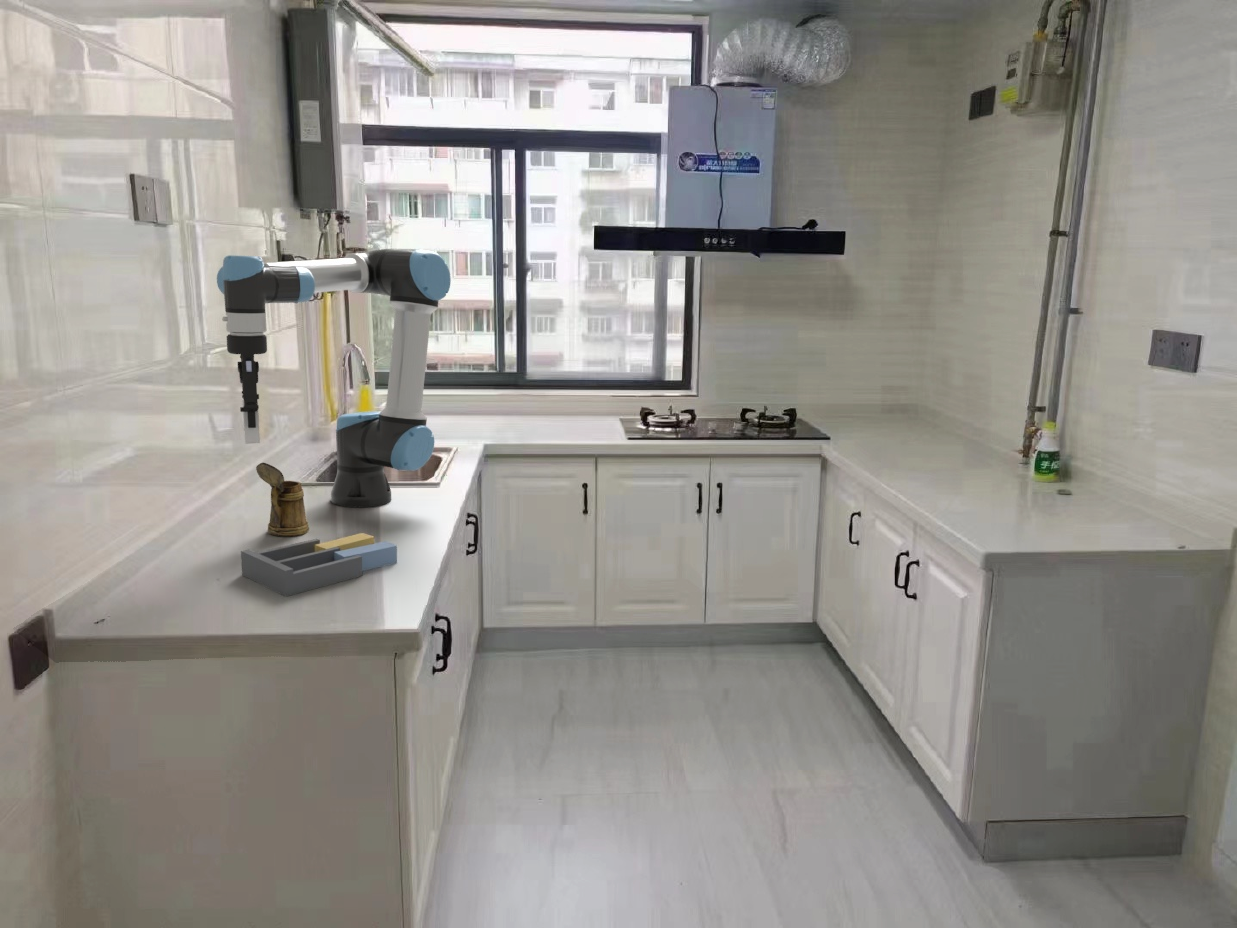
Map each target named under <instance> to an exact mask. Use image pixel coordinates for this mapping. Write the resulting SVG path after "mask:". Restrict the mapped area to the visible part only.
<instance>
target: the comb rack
mask: <svg viewBox="0 0 1237 928" xmlns="http://www.w3.org/2000/svg"><path fill="white" fill-rule="evenodd" d="M320 543H321V540H320V539H318V538H314V539H309V540H305V541H304V540H303V541H301V542H295V543H291V544H287V545H283V546H278V547H274V548H269V549H266V550H264V549H263V550H261V551H257V552H256V551H254V550H251V549H249V548H247V549H243V550H241V551H240V557H241V558H240V560H241V561H240V562H241V576H243V577H245V578H246V579H250V580H251V581H253V582H255V583H257V584H260V585H261V586H263V587H265V588H267V589H270V590H272V591H274V592H275V593H279V594H280V595H283V596H284V597H290V596H294V595H297V594H301V593H304V592H307V591H310V590H311V591H312V590H314V589H318V588H323V587H325V586H329V585H333V584H337V583H340V582H343V581H344V582H345V581H348V580H351V579H355V578H358V577H362V576H363V571H362V556H359V555H357V556H353V557H349V558H345V559H341V560H337V561H334V552H337V551H340V548H339V547H334V548H330V549H325V550H321V551H317V552H315V545H316V544H320Z"/></svg>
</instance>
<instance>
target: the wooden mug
mask: <svg viewBox="0 0 1237 928" xmlns="http://www.w3.org/2000/svg"><path fill="white" fill-rule="evenodd" d="M255 468H256V469H255V471H256V473H257V475H258V476H259V478H260V479H261V480H262V481H263V482H265V483H266V484H268V485H269V486H270V487H271V489H270V504H271V506H270V514H269V515H270V516H269V523H268V524H267V533H268V534H269V535H271V536H275V537H285V538H287V537H297V536H302V535H305V534H306V533H309V532H308V531H309V530H310V527H309V522H308V521H307V520H308V519H307V514H306V509H305V502H304V496H305V494H304V489H303V487H302V483H301V482H299V481H294V480H285V477H284V475H283V473H282V471H281V470H280V469H278V468H276V467H275V466H273V465H271V464H269V463H266V462H261V463H259V464H258V465H256V467H255Z"/></svg>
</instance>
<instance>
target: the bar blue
mask: <svg viewBox="0 0 1237 928" xmlns="http://www.w3.org/2000/svg"><path fill="white" fill-rule="evenodd" d="M357 555H359V556H362V572H363V570H364V571H368V570H372V569H376V568H381V567H385V566H389V564H390V565H394V564H398V546H397V544H393V543H392V542H390V541H387V540H385V541H381V542H376V543H375V542H374V544H371V545H366V546H361V547H356V548H351V549H347V550H342V551H337V552H334V561H337V560H341V559H345V558H349V557H353V556H357Z"/></svg>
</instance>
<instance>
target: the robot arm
mask: <svg viewBox="0 0 1237 928" xmlns="http://www.w3.org/2000/svg"><path fill="white" fill-rule="evenodd" d="M451 281H452V280H451V273H450V269H449V266H448V264H447V263H446V262H445V259H444V258H443V257H442V256H441V255H440V254H439V253H437V252H435V251H431V250H425V249H420V248H419V249H415V248H414V249H411V248H410V249H409V248H408V249H407V248H406V249H405V248H383V249H382V248H381V249H376V250H370V251H364V252H356V253H355V252H354V253H351V252H350V253H347V255H345V256H344V257H342V258H339V257H338V258H324V259H322V258H321V259H305V260H290V261H287V260H285V261H272V262H271V261H269V262H264V260H263V258H262V257H261V256H256V255H235V254H234V255H232V254H230V255H226V256H225V257H224V258H223V261H222V266H221V267H220V268H219V270H218V272H217V275H216V284H217V285H216V286H217V288H218V289H219V291H220V292H221V294H223V295H224V297H223V298H224V311H225V316H222V322H226V323H225V326H226V327H225V328H226V332H228V333H229V334H227V336H226V351H227V353H229V354H232V355H239V358H240V361H237V372H238V373H239V382H240V384H241V387H242V391H241V394H242V395H241V396H242V399H243V400H242V406H241V407H240V409H239V410H240V412H241V413H242V417H243V431H244V441H245V442H244V443H245V444H246V445H248V444H261V441H260V440H261V437H260V435H261V433H260V418H259V417H260V416H259V415H260V414H259V407H260V406H259V404H258V400H260V394H259V393H258V386H257V384H258V383H259V371H260V365H259V361H255V355H263V354H266V353H267V352H268V341H267V339H268V338H267V336H266V334H264V333H266V332H267V313H266V312H267V311H266V304H286V303H287V304H289V303H290V304H292V303H293V304H298V303H306V302H308V301H310V300H311V299H312V298H313V296H314V295H315V293H318V294H319V293H329V292H339V291H340V292H341V291H349V292H351V293H353V294H362V293H363V294H364V293H365V294H374V295H375V294H376V295H381V296H387V297H389V304H390V305H391V306H392V307H393V308H394V321H393V333H392V339H391V341H392V342H391V351H390V352H391V353H390V362H389V373H388V374H389V375H388V384H387V394H386V404H385V405H386V406H385V407H384V409H382V410H381V411H378V410H377V411H360V412H352V413H351V412H350V413H345V414H341V415H340V416H339V417H337V420H336V429H335V433H336V437H335V438H336V457H337V458H336V460H337V464H336V465H337V472H336V477H335V479H334V482H333V486H332V488H331V491H330V502H331V503H332V504H334V505H337V506H341V507H346V508H347V507H349V508H369V507H370V508H371V507H377V506H381V505H385V504H388V503H390V502H391V501H392V488H391V486H390V484H389V481H388V477H387V475H386V473H385V468H386V467H387V468H391V469H394V470H397V471H409V472H413V471H414V472H415V471H417V470H419V469H421V468H422V467H424V466H425V465H426V463H427V462H428V461H429V460H430V459H431V457H432V455H433V452H434V449H435V436H434V434H433V431H432V430H431V429H430V428H429V427H428V426H427V418H428V417H427V416H426V415H425V414H424V413H423V410H422V407H423V398H424V397H423V396H424V388H425V387H424V385H425V377H426V367H427V366H426V365H427V356H428V345H429V336H430V327H431V316H432V314H433V313H434V312H436V311H437V310H438V308H439V301H440V300H442V299H444V298H446V296H447V294H448V293H449V291H450V288H451Z"/></svg>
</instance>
